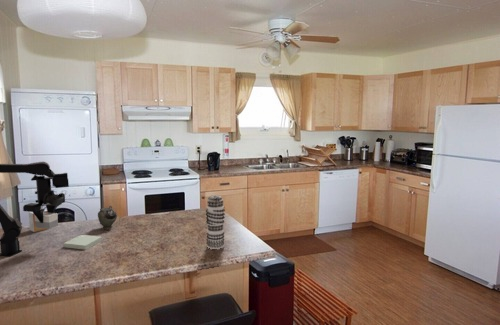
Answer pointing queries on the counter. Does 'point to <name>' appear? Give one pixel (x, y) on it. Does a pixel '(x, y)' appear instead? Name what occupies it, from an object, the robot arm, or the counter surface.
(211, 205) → the tower model
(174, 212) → the counter surface
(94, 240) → the stand
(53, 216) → the block
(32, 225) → the small box
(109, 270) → the counter surface
